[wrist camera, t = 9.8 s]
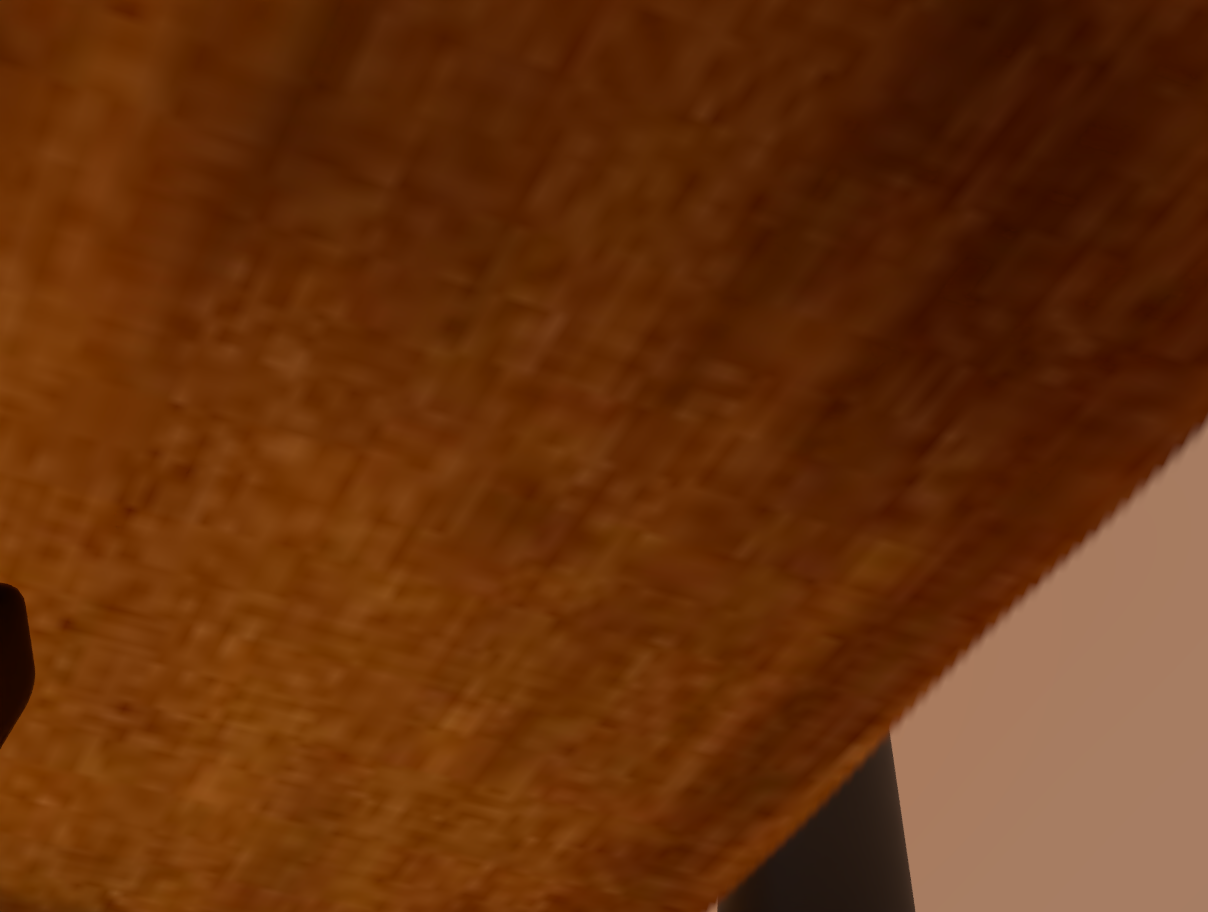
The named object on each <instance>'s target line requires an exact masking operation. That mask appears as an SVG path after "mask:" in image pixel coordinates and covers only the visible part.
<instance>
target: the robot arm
mask: <svg viewBox="0 0 1208 912" xmlns="http://www.w3.org/2000/svg"><path fill="white" fill-rule="evenodd" d="M34 679H35V666H34V659H33V653H32V646H31V639H30V632H29V626H28V619H27V612H26V606H25V601H24V598H23V596H22V595H21V593H20V592H19V590H18V589H17V588H15V587H13V586H11V585H9V584H5V583H0V748H1V747H2V745H3V743H4V742H5V740H6V738H7V737H8V735H9V733H10V732H11V730H12V728H13V727H14V725H15V723H16V722H17V720H18V719H19V717H20V715H21V714H22V712H23V710H24V709H25V707H26V705H27V703H28V701H29V698H30V696H31V693H32V690H33V686H34Z"/></svg>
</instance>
